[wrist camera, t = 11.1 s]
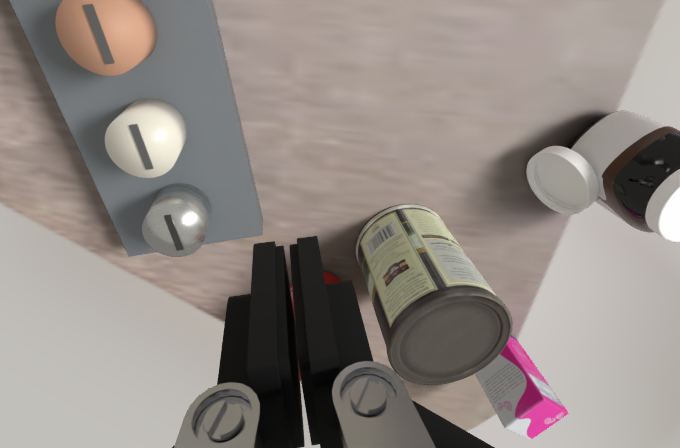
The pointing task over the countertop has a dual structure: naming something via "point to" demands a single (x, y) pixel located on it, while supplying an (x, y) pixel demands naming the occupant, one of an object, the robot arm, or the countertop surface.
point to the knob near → (106, 34)
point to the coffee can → (429, 298)
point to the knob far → (177, 220)
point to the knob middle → (146, 138)
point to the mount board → (172, 87)
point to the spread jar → (615, 173)
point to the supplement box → (520, 392)
